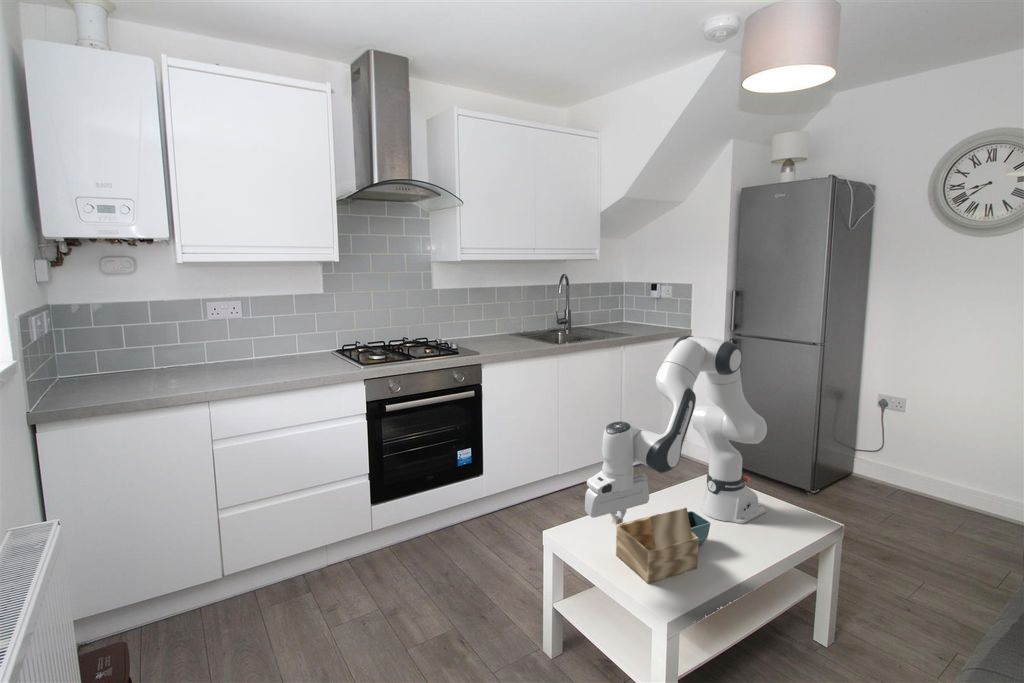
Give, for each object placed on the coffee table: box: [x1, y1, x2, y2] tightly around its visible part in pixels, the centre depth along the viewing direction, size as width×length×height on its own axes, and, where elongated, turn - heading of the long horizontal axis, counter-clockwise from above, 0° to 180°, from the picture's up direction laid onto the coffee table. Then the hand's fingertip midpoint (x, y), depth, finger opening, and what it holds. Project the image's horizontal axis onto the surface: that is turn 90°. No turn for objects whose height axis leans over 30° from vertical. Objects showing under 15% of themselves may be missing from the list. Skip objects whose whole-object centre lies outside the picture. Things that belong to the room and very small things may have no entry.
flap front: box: [605, 516, 640, 545], centre depth 156 cm, size 9×8×1 cm
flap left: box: [650, 507, 693, 549], centre depth 155 cm, size 13×9×1 cm
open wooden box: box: [615, 513, 699, 585], centre depth 163 cm, size 19×17×10 cm
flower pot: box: [687, 510, 711, 548], centre depth 172 cm, size 9×9×9 cm
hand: (617, 523), depth 155 cm, fingers closed
